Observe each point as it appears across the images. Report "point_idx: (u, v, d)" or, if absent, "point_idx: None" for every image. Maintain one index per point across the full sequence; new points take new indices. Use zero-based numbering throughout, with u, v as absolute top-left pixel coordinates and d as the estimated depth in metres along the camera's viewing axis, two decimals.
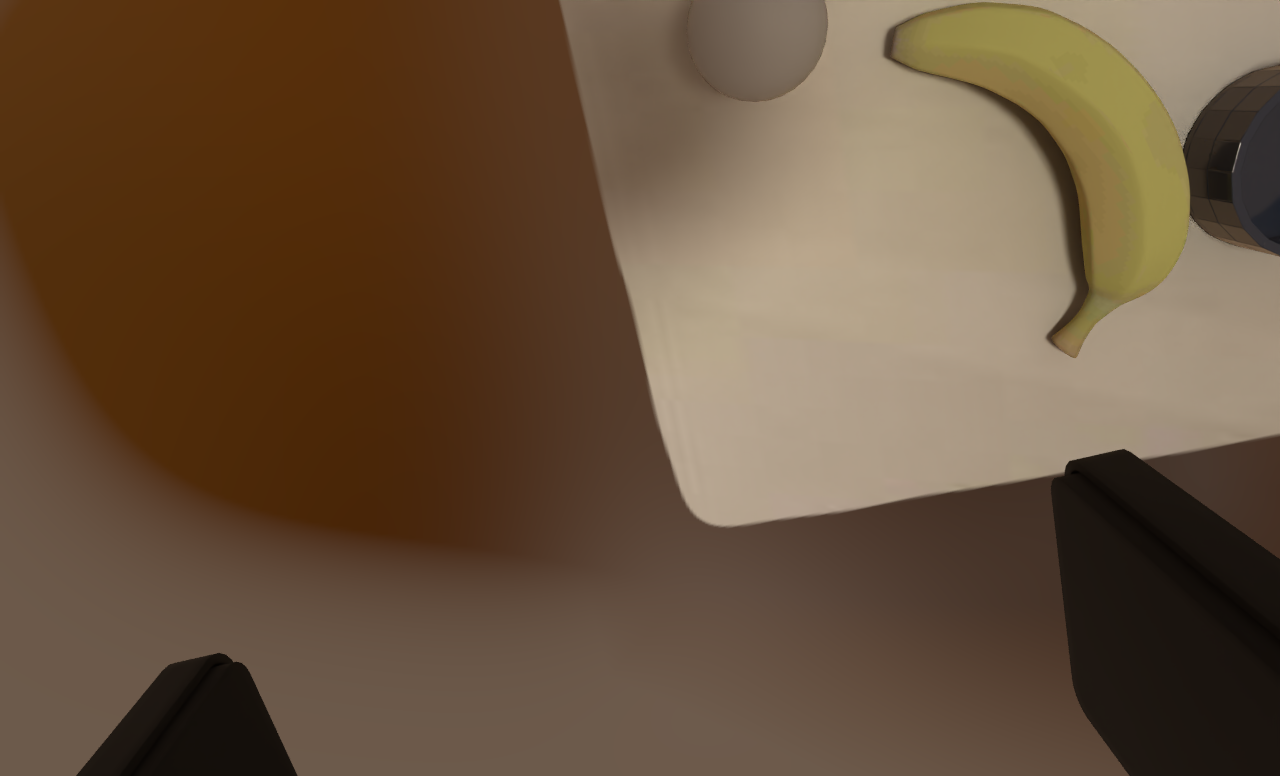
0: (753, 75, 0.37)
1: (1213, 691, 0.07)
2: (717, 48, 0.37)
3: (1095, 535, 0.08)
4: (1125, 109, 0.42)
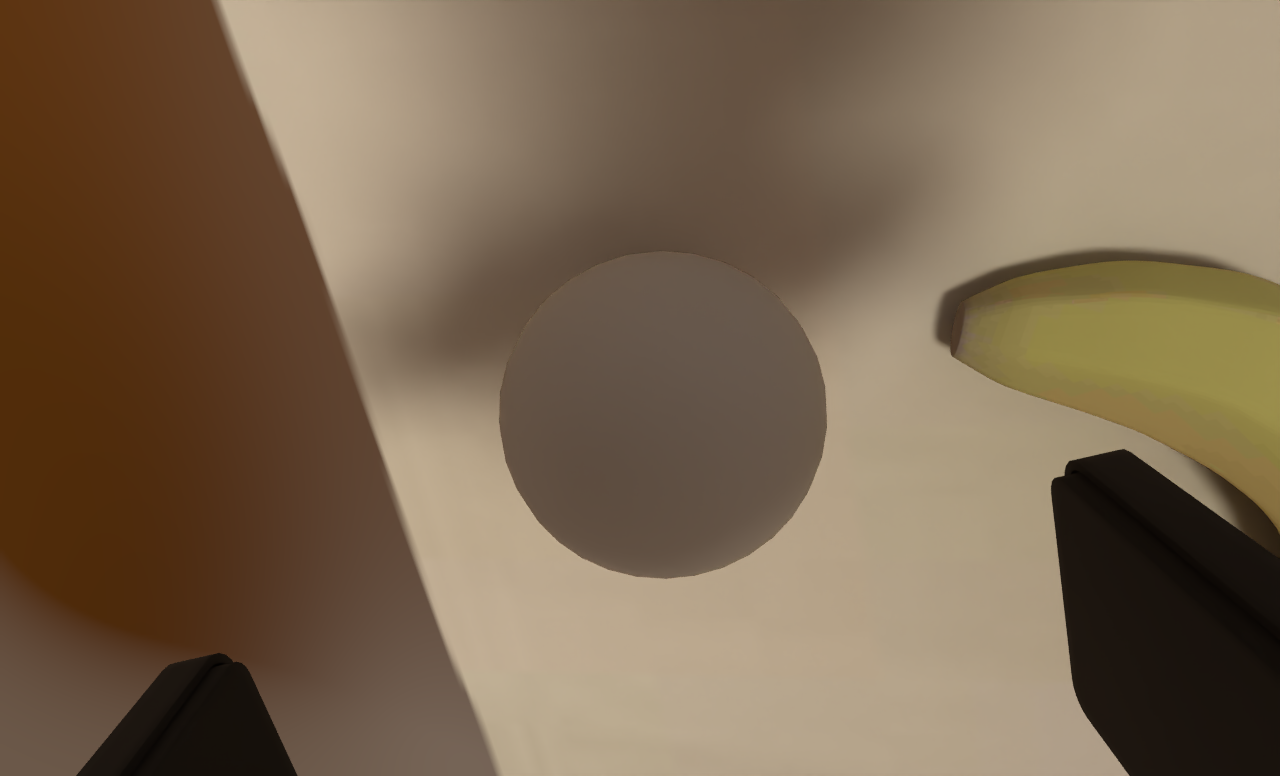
0: (644, 568, 0.15)
1: (1213, 691, 0.07)
2: (553, 511, 0.15)
3: (1095, 535, 0.08)
4: None
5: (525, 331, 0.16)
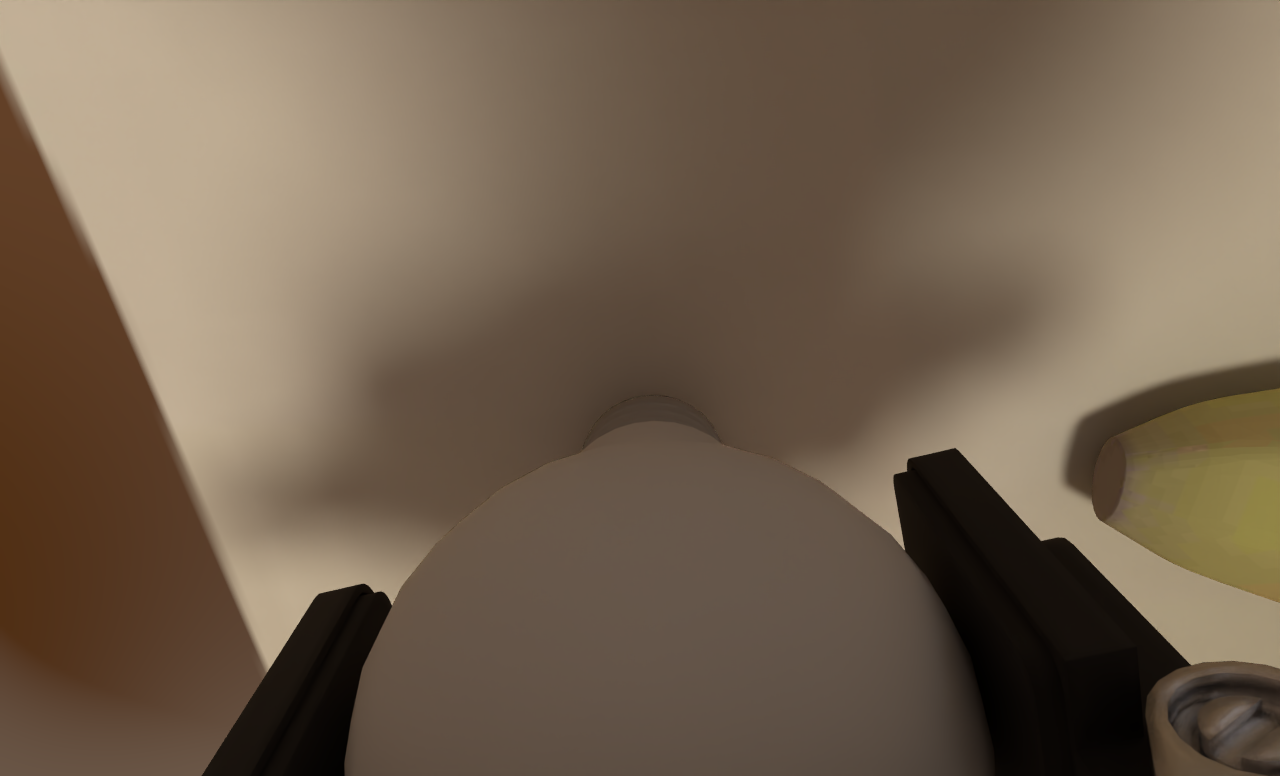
0: None
1: (987, 661, 0.08)
2: None
3: (919, 525, 0.09)
4: None
5: (392, 619, 0.08)
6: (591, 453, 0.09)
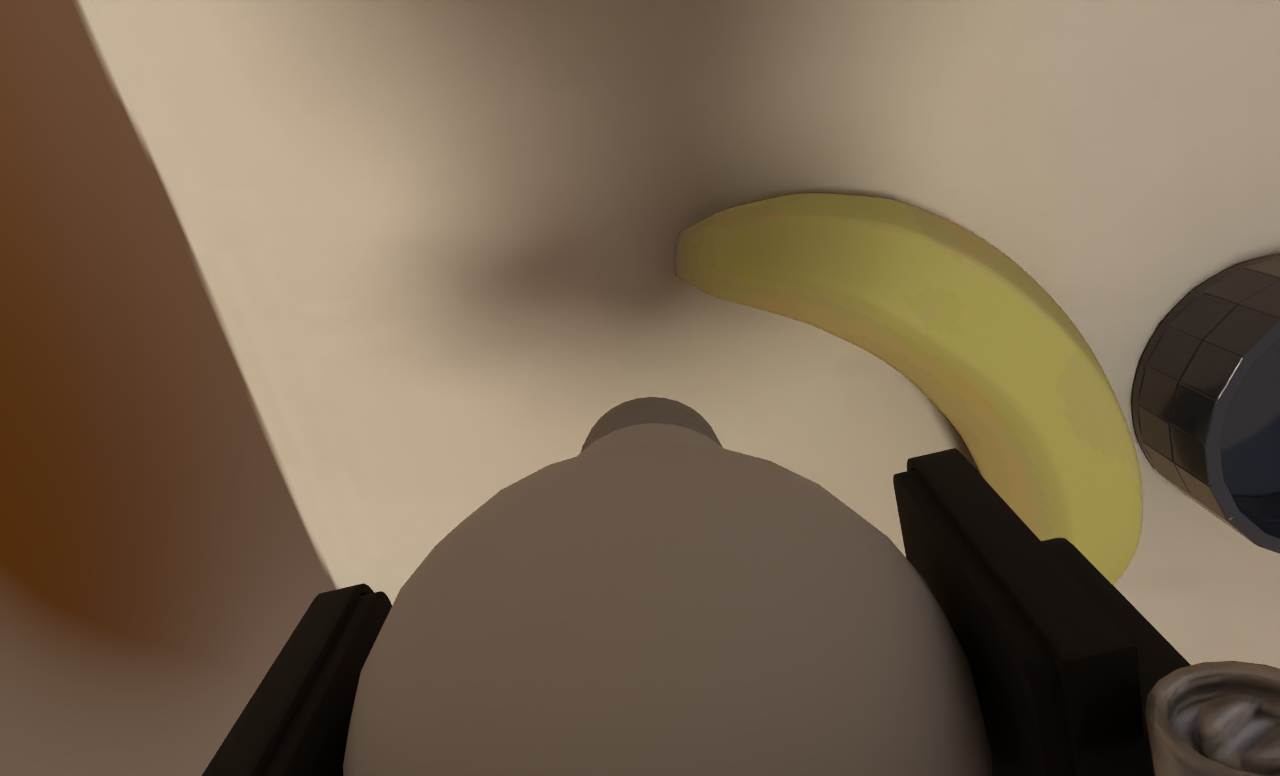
0: None
1: (987, 661, 0.08)
2: None
3: (919, 526, 0.09)
4: (1027, 371, 0.26)
5: (391, 623, 0.08)
6: (589, 456, 0.09)
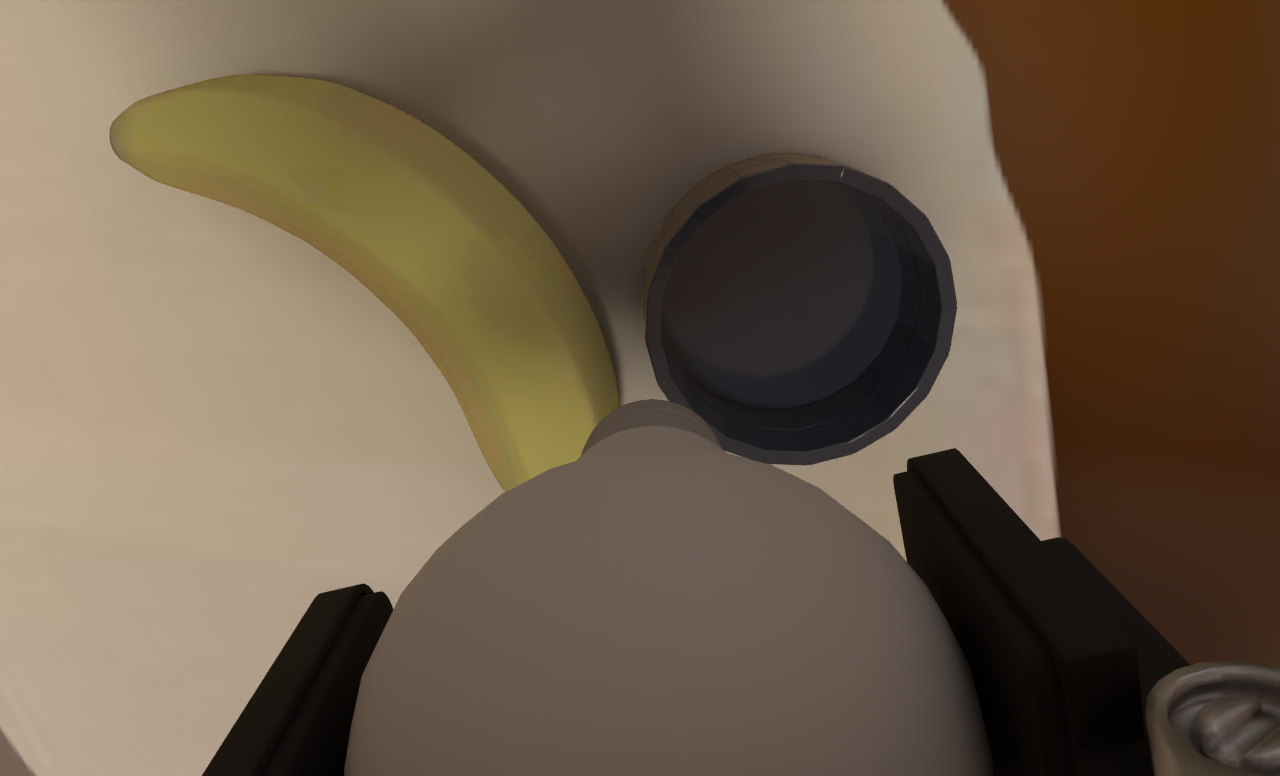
0: None
1: (987, 661, 0.08)
2: None
3: (919, 525, 0.09)
4: (422, 254, 0.25)
5: (392, 627, 0.08)
6: (590, 461, 0.09)
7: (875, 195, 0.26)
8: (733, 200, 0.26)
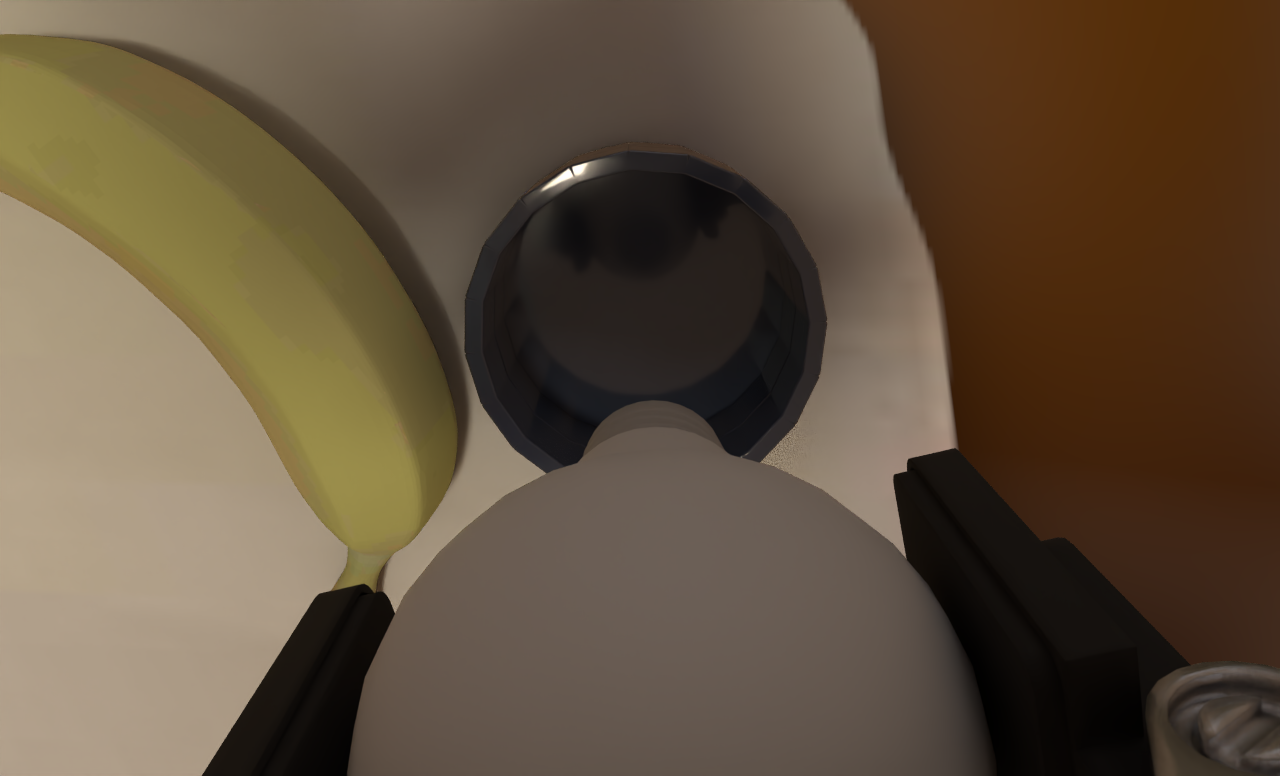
0: None
1: (987, 661, 0.08)
2: None
3: (919, 526, 0.09)
4: (187, 246, 0.22)
5: (395, 629, 0.08)
6: (593, 462, 0.09)
7: (727, 190, 0.22)
8: (561, 192, 0.22)
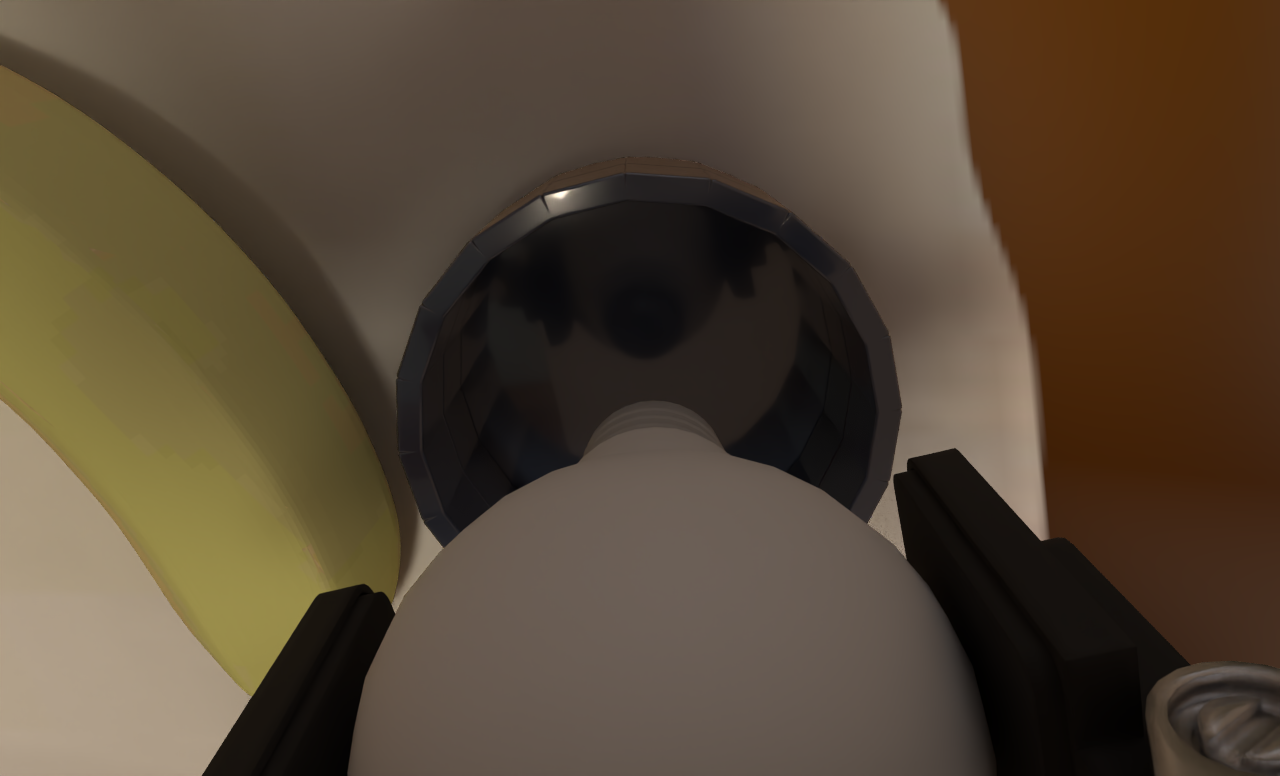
0: None
1: (987, 660, 0.08)
2: None
3: (919, 525, 0.09)
4: None
5: (395, 629, 0.08)
6: (594, 463, 0.09)
7: (765, 229, 0.16)
8: (528, 232, 0.16)
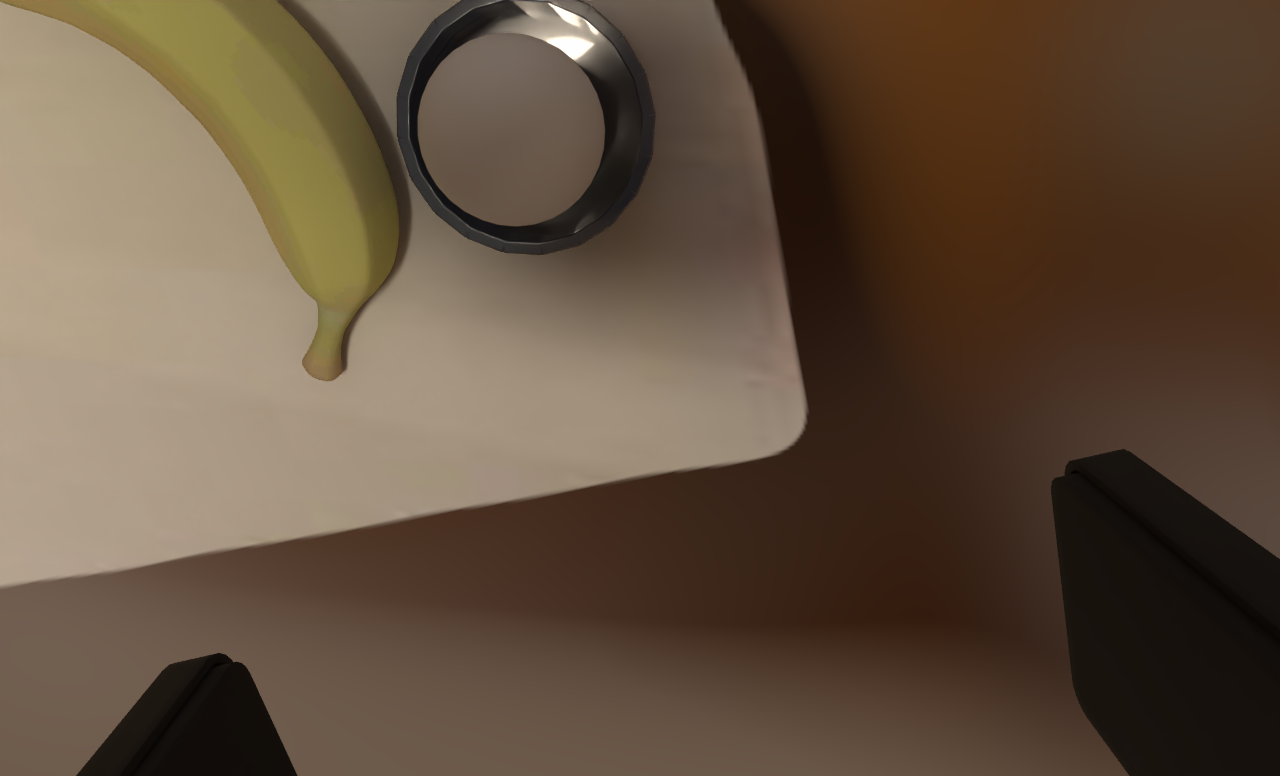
0: (494, 201, 0.28)
1: (1213, 691, 0.07)
2: (443, 166, 0.27)
3: (1095, 535, 0.08)
4: (200, 50, 0.31)
5: (431, 76, 0.28)
6: None
7: (579, 14, 0.32)
8: (462, 16, 0.32)
